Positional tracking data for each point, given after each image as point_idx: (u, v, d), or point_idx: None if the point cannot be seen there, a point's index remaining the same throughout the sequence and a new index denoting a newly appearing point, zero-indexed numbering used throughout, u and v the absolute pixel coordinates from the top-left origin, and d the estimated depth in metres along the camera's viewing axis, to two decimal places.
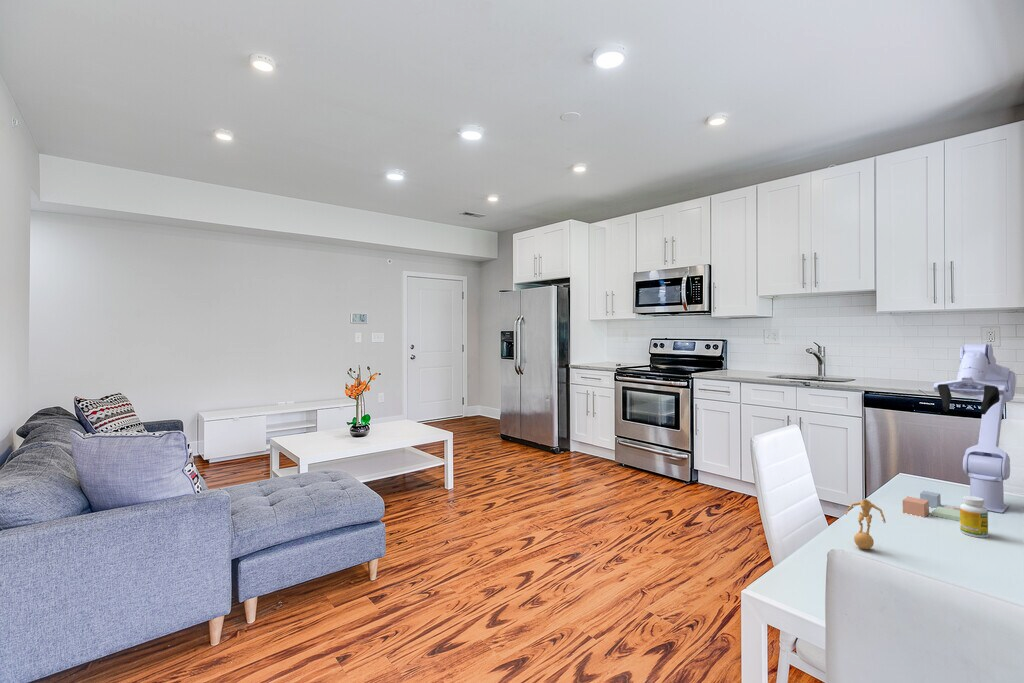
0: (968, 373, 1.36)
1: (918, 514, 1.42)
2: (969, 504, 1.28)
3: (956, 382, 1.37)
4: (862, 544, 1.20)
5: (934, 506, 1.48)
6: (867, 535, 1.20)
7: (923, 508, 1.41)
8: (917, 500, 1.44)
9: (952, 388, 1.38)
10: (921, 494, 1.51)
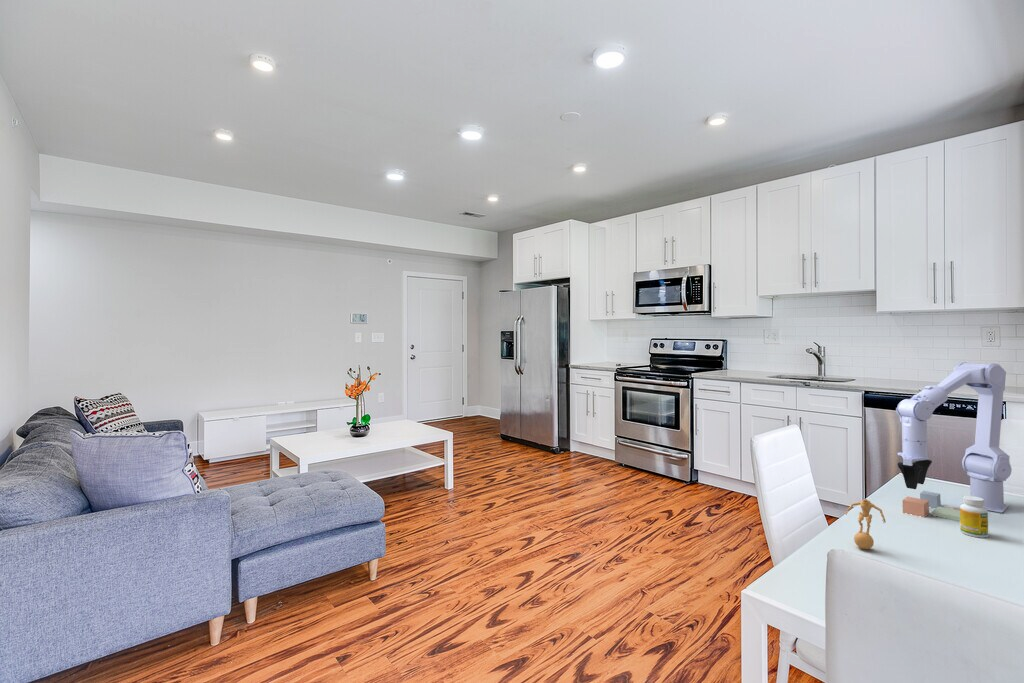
0: None
1: (918, 514, 1.42)
2: (969, 504, 1.28)
3: None
4: (862, 544, 1.20)
5: (934, 506, 1.48)
6: (867, 535, 1.20)
7: (923, 508, 1.41)
8: (917, 500, 1.44)
9: None
10: (921, 494, 1.51)
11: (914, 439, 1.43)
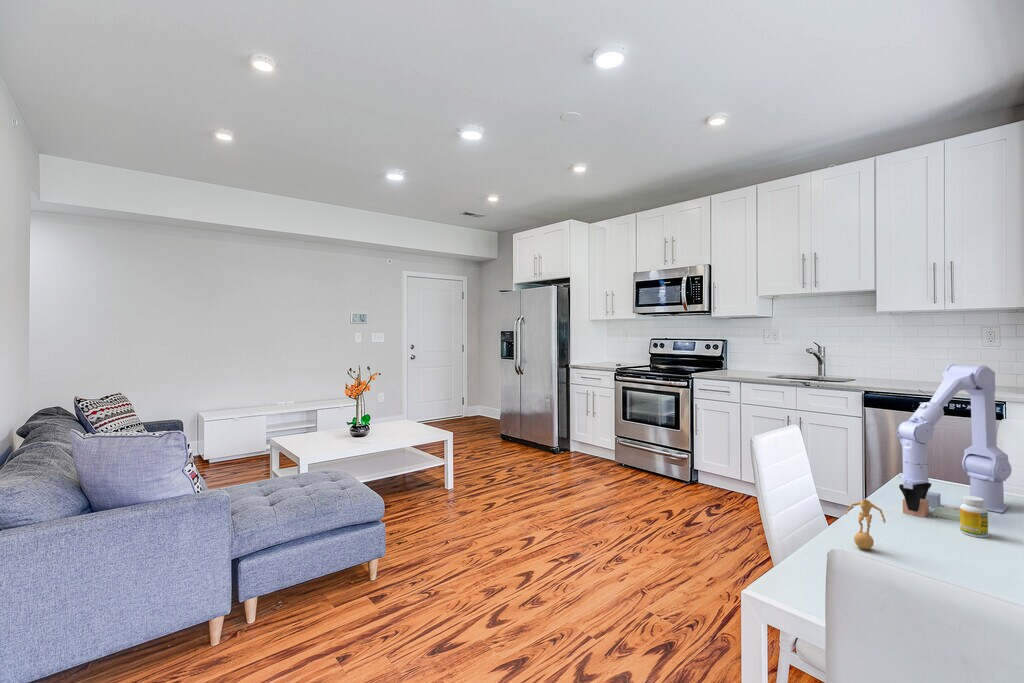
0: None
1: (918, 513, 1.42)
2: (969, 504, 1.28)
3: None
4: (862, 544, 1.20)
5: (934, 506, 1.48)
6: (867, 535, 1.20)
7: (923, 507, 1.41)
8: None
9: None
10: None
11: (914, 462, 1.42)
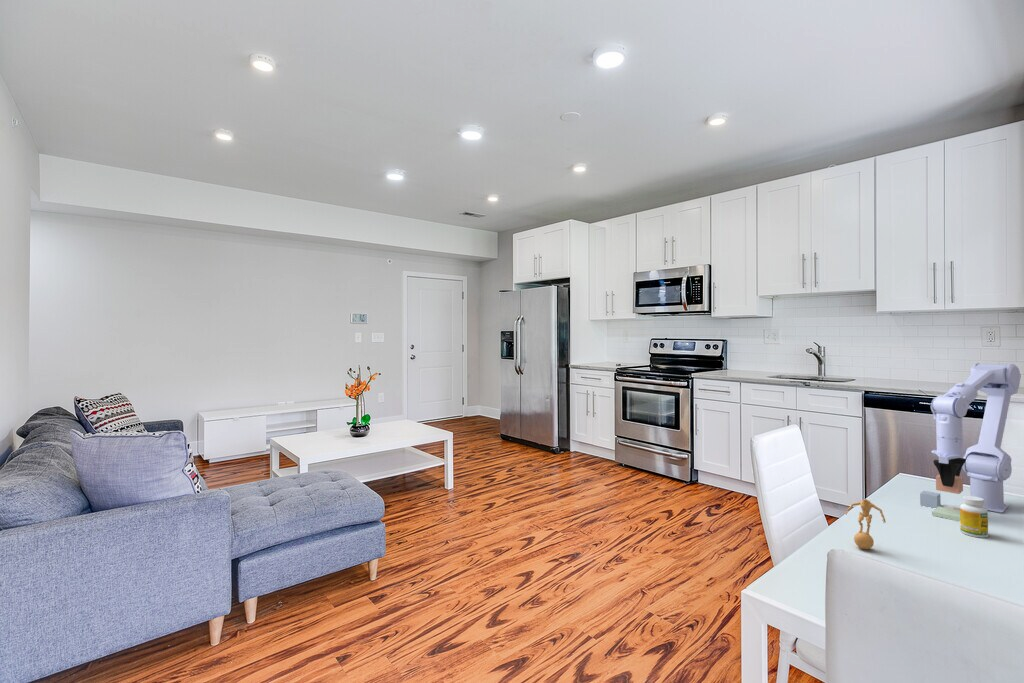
0: None
1: (952, 490, 1.40)
2: (969, 504, 1.28)
3: None
4: (862, 544, 1.20)
5: (934, 506, 1.48)
6: (867, 535, 1.20)
7: (958, 484, 1.39)
8: None
9: None
10: (921, 494, 1.51)
11: (952, 437, 1.39)
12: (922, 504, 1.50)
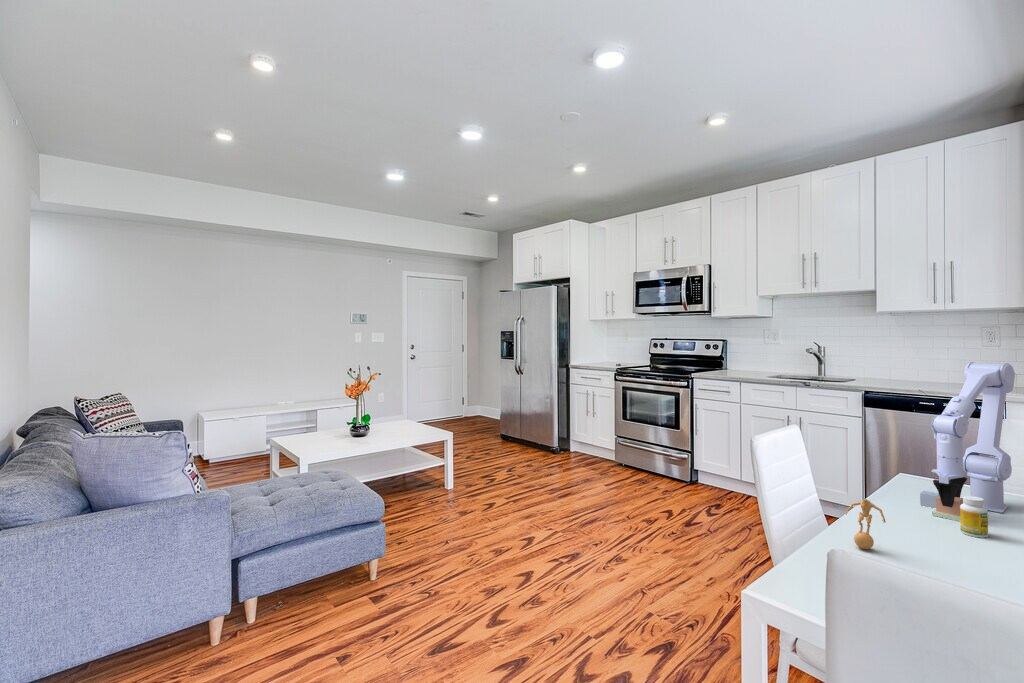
0: None
1: (953, 512, 1.40)
2: (969, 504, 1.28)
3: None
4: (862, 544, 1.20)
5: (934, 506, 1.48)
6: (867, 535, 1.20)
7: (958, 506, 1.39)
8: None
9: None
10: (921, 494, 1.51)
11: (953, 456, 1.39)
12: (922, 504, 1.50)
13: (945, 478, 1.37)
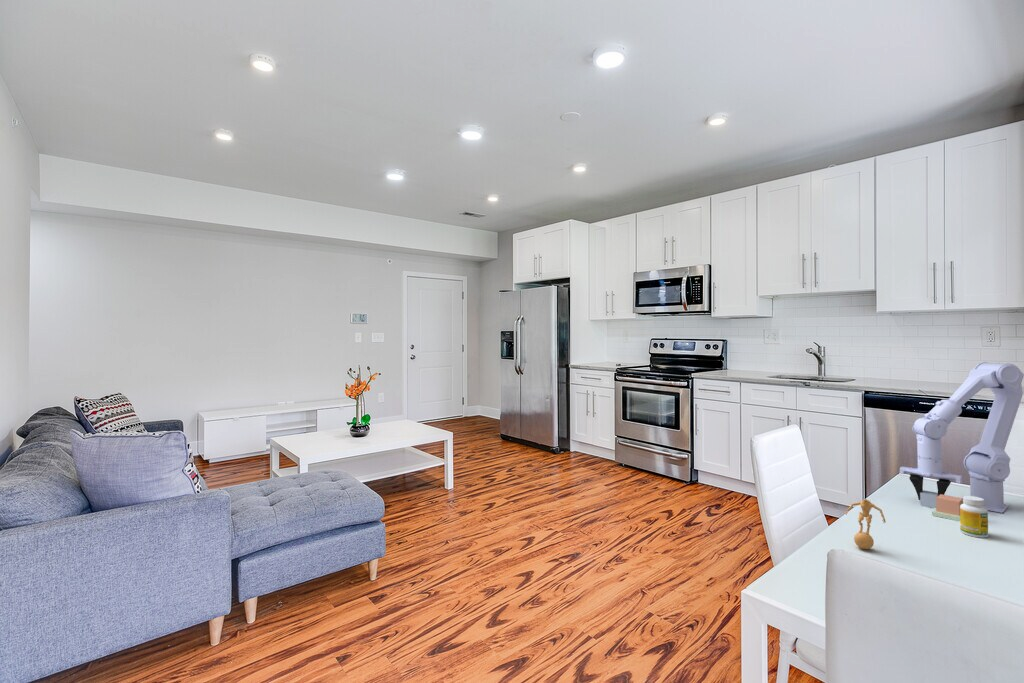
0: (926, 465, 1.49)
1: (953, 512, 1.40)
2: (969, 504, 1.28)
3: (918, 473, 1.51)
4: (862, 544, 1.20)
5: (934, 506, 1.48)
6: (867, 535, 1.20)
7: (958, 506, 1.39)
8: (951, 498, 1.42)
9: (916, 474, 1.53)
10: (921, 494, 1.51)
11: (926, 456, 1.49)
12: (922, 504, 1.50)
13: (961, 477, 1.45)
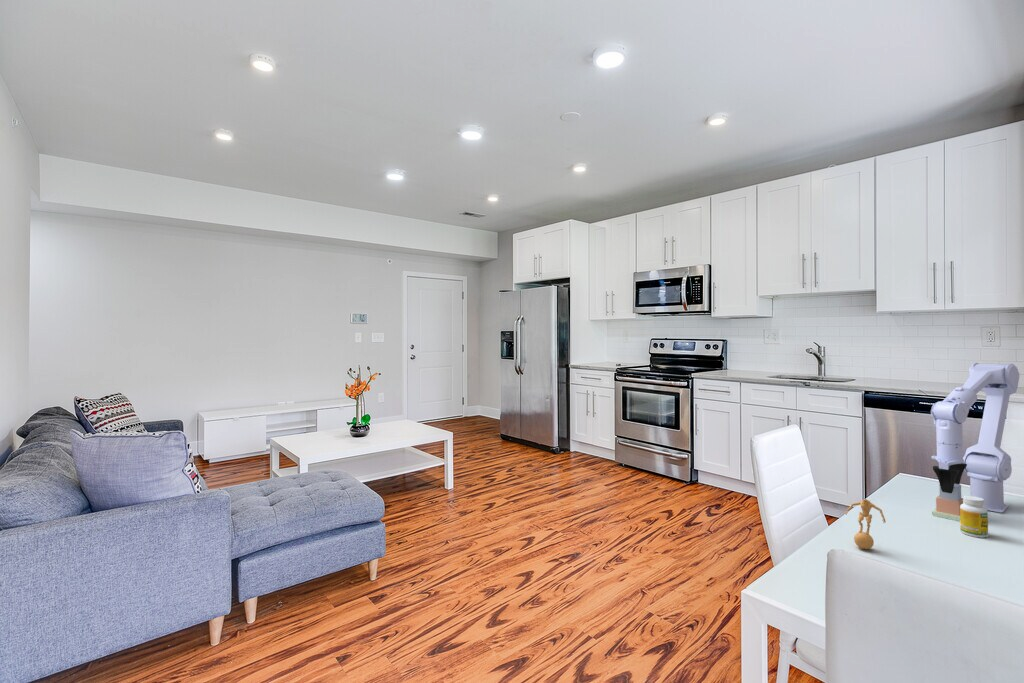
0: None
1: (953, 512, 1.40)
2: (969, 504, 1.28)
3: None
4: (862, 544, 1.20)
5: None
6: (867, 535, 1.20)
7: (958, 506, 1.39)
8: None
9: None
10: None
11: (952, 442, 1.39)
12: None
13: (945, 464, 1.37)
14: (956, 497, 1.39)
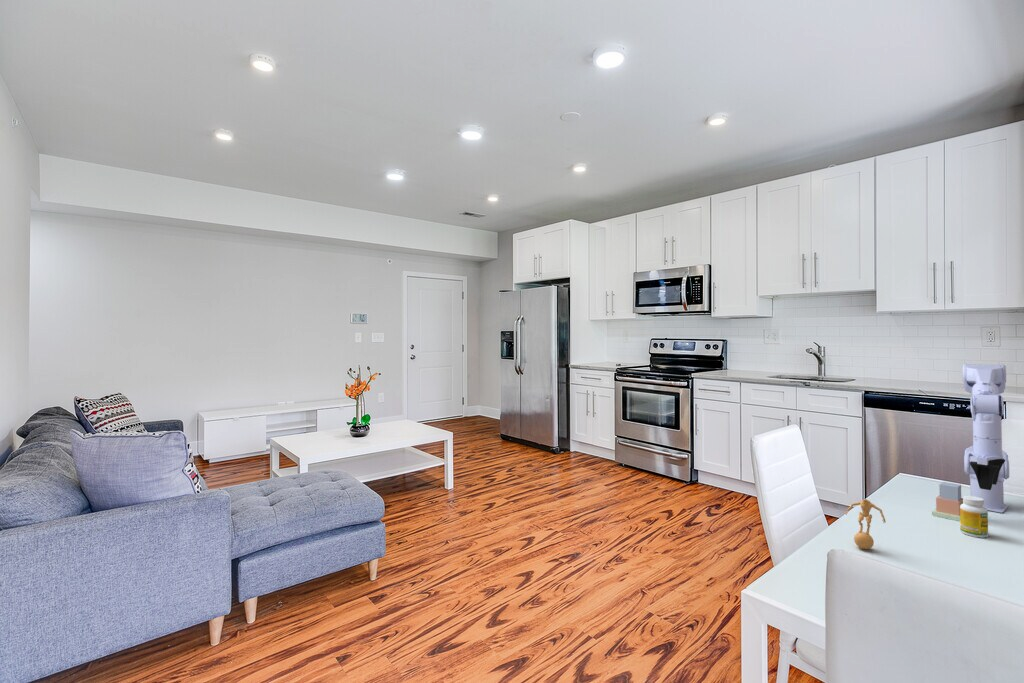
0: (973, 443, 1.38)
1: (953, 512, 1.40)
2: (969, 504, 1.28)
3: None
4: (862, 544, 1.20)
5: None
6: (867, 535, 1.20)
7: (958, 506, 1.39)
8: None
9: None
10: None
11: (997, 437, 1.33)
12: None
13: (984, 459, 1.31)
14: (956, 497, 1.39)
